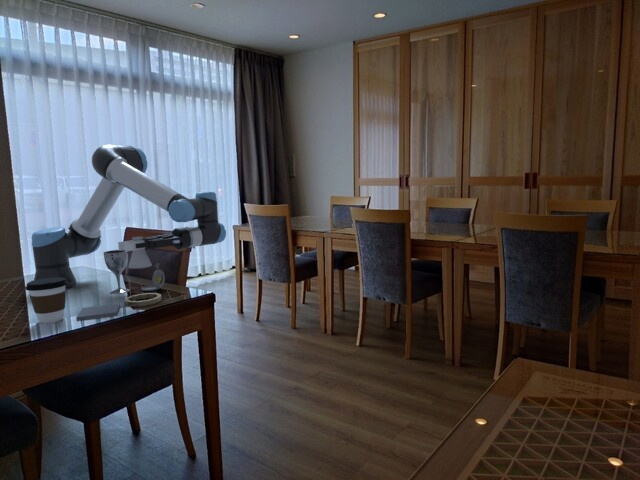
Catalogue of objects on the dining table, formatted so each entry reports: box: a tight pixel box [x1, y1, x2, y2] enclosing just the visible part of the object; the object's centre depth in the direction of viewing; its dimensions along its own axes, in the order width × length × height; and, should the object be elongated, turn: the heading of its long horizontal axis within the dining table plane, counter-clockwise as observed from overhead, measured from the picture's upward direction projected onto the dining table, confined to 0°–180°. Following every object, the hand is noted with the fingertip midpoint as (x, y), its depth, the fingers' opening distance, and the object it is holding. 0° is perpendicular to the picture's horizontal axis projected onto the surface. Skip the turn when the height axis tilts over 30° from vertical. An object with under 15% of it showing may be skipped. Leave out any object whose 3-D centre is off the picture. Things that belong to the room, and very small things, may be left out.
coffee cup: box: [24, 277, 68, 324], centre depth 140 cm, size 11×11×12 cm
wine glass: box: [103, 249, 131, 295], centre depth 173 cm, size 8×8×15 cm
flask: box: [127, 236, 153, 270], centre depth 155 cm, size 7×7×10 cm
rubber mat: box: [76, 302, 121, 321], centre depth 146 cm, size 11×11×1 cm
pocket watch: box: [141, 262, 166, 292], centre depth 173 cm, size 8×8×10 cm
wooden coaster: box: [123, 292, 162, 308], centre depth 157 cm, size 11×11×2 cm
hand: (122, 246), depth 150 cm, fingers closed on flask, 3 cm apart
